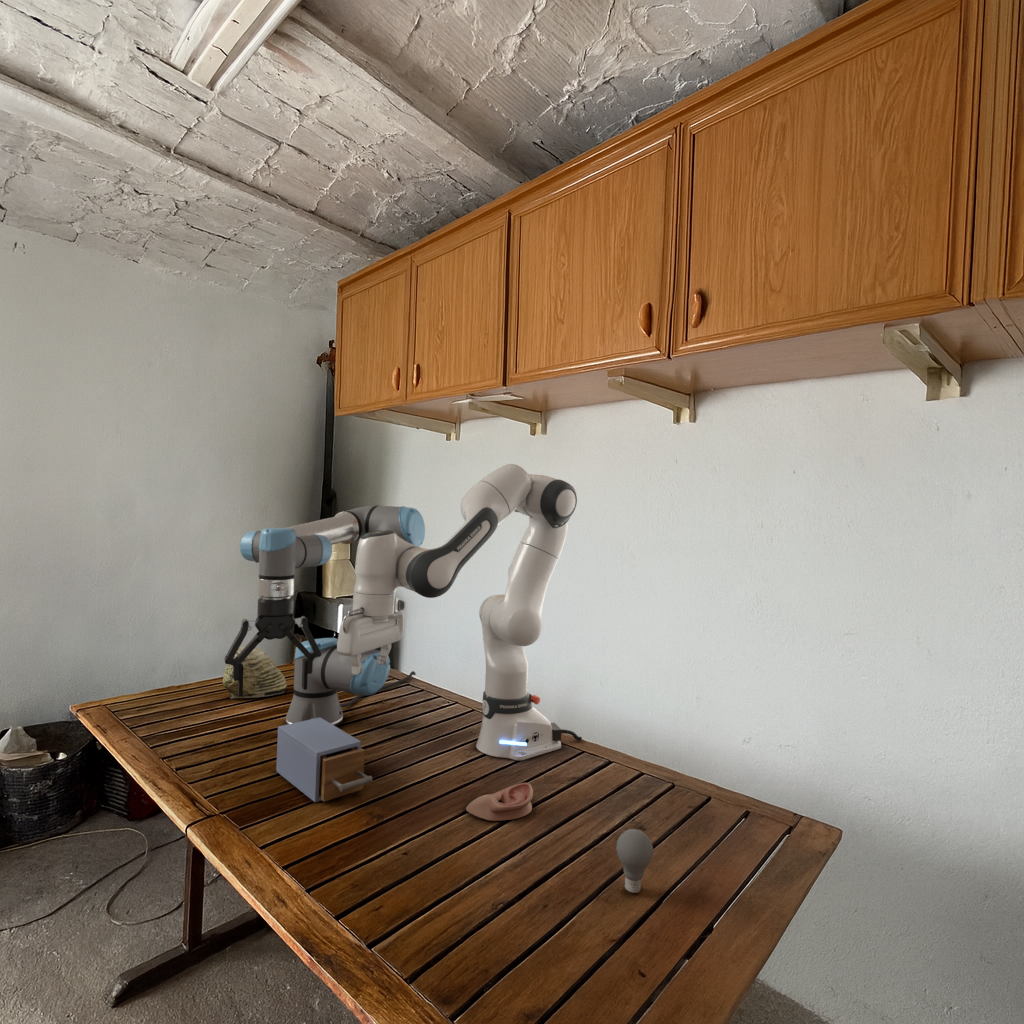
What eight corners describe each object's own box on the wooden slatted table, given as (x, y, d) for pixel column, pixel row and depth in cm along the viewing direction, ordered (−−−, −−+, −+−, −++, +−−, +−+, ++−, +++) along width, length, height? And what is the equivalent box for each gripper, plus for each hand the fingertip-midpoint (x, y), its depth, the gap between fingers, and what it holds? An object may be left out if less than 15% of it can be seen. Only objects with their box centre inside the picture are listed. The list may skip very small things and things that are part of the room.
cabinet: (359, 788, 138) (361, 741, 138) (314, 802, 131) (316, 752, 131) (318, 759, 152) (319, 717, 152) (276, 771, 145) (277, 726, 145)
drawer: (376, 798, 132) (377, 757, 132) (336, 811, 126) (338, 769, 126) (323, 761, 149) (325, 726, 149) (286, 772, 143) (287, 734, 142)
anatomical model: (462, 797, 127) (476, 773, 139) (461, 816, 128) (476, 791, 139) (527, 806, 125) (536, 781, 136) (526, 826, 125) (535, 800, 136)
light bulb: (610, 879, 108) (613, 822, 108) (644, 879, 109) (647, 822, 109) (619, 902, 102) (622, 840, 102) (655, 901, 103) (658, 840, 103)
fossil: (218, 695, 195) (220, 647, 195) (278, 685, 208) (279, 640, 207) (228, 703, 189) (230, 653, 188) (289, 692, 201) (290, 645, 201)
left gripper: (215, 602, 132) (212, 702, 133) (336, 597, 144) (333, 689, 145) (213, 596, 139) (210, 692, 139) (329, 592, 151) (326, 680, 151)
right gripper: (357, 613, 126) (353, 682, 126) (410, 601, 145) (406, 661, 145) (331, 609, 128) (327, 677, 129) (386, 598, 148) (382, 657, 148)
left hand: (272, 691), depth 142 cm, fingers open, 13 cm apart
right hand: (369, 668), depth 137 cm, fingers open, 8 cm apart
